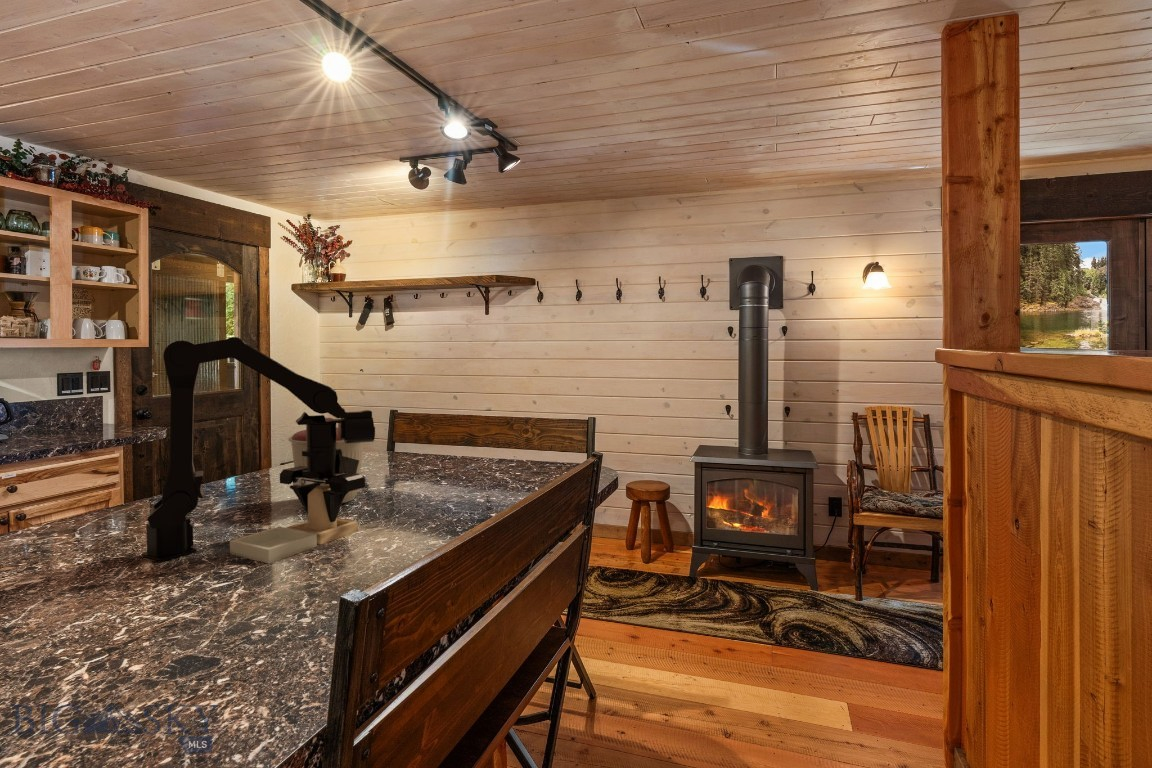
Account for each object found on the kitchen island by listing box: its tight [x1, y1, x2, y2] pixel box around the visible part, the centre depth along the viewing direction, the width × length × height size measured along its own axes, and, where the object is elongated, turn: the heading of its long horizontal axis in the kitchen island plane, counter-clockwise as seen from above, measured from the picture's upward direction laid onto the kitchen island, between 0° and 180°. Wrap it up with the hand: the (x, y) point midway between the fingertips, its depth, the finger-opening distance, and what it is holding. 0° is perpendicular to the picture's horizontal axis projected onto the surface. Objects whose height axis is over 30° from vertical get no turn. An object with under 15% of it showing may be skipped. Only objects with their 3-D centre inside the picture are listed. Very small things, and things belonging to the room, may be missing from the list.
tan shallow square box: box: [285, 517, 359, 545], centre depth 128 cm, size 10×10×2 cm
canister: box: [287, 417, 364, 504], centre depth 155 cm, size 18×18×21 cm
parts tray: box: [229, 526, 318, 564], centre depth 118 cm, size 11×11×2 cm
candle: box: [307, 486, 338, 532], centre depth 128 cm, size 6×6×10 cm
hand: (322, 519), depth 128 cm, fingers closed on candle, 5 cm apart
